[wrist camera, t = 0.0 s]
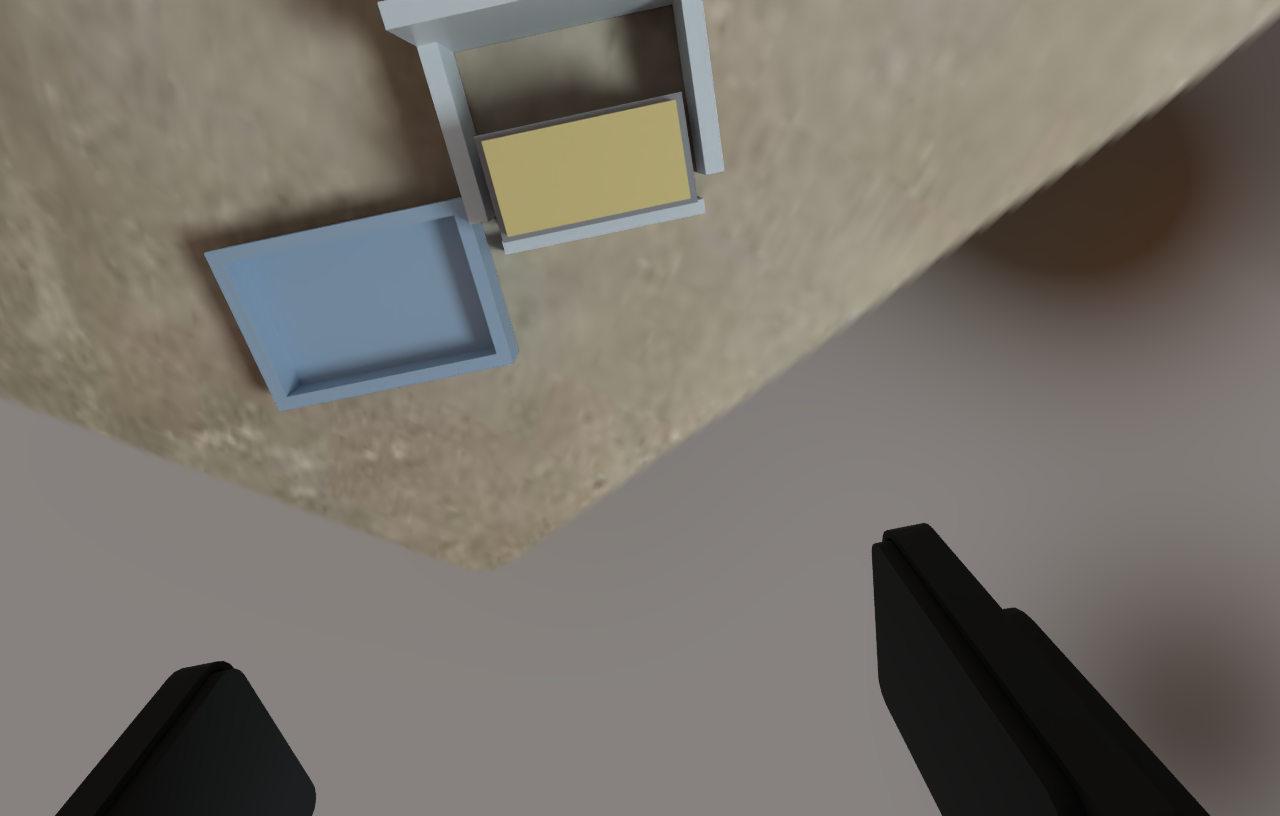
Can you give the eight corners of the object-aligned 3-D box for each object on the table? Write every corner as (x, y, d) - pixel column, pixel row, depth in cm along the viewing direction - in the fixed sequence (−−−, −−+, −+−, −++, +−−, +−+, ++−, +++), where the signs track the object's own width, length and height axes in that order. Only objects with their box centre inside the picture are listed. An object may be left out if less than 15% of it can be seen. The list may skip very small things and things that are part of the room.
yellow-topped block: (495, 138, 34) (471, 136, 28) (668, 101, 34) (683, 90, 28) (519, 227, 36) (501, 244, 30) (682, 193, 36) (699, 203, 30)
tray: (230, 245, 36) (203, 252, 33) (473, 193, 35) (463, 197, 33) (299, 395, 40) (279, 411, 37) (518, 350, 39) (513, 363, 37)
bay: (429, 35, 32) (377, 2, 25) (687, -22, 32) (712, -73, 24) (492, 255, 37) (464, 281, 29) (718, 207, 36) (747, 222, 29)
